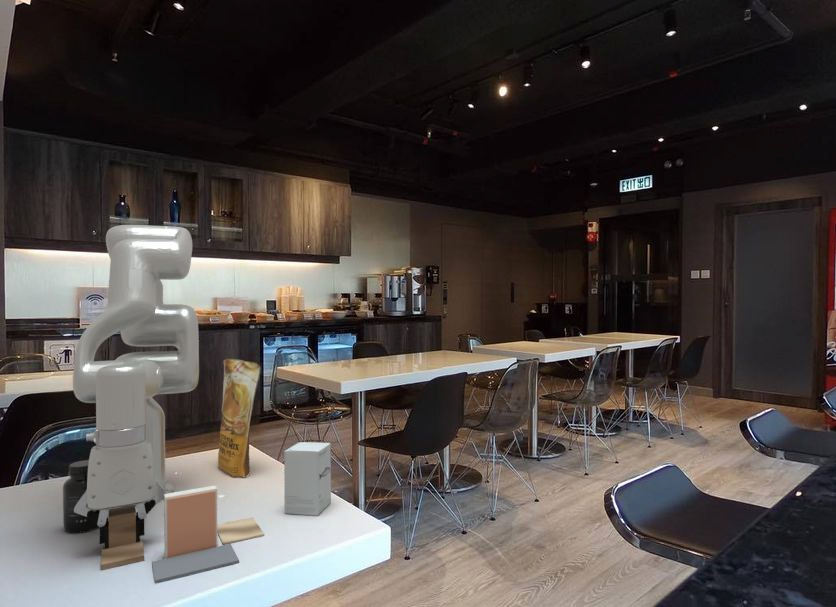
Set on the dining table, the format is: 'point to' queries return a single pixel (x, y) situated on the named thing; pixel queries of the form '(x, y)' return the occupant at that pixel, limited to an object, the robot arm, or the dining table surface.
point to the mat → (193, 563)
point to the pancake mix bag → (237, 415)
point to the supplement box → (307, 478)
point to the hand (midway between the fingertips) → (122, 542)
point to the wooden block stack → (122, 539)
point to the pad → (239, 530)
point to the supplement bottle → (76, 499)
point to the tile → (190, 521)
